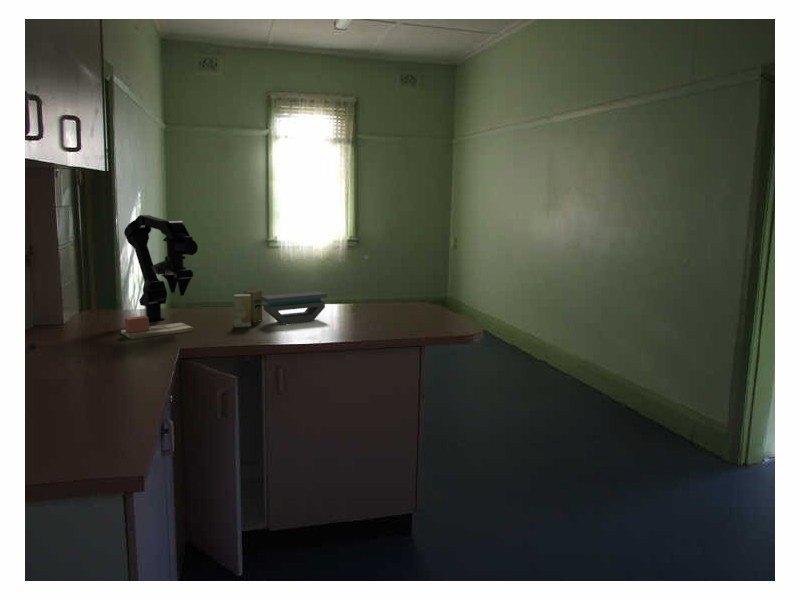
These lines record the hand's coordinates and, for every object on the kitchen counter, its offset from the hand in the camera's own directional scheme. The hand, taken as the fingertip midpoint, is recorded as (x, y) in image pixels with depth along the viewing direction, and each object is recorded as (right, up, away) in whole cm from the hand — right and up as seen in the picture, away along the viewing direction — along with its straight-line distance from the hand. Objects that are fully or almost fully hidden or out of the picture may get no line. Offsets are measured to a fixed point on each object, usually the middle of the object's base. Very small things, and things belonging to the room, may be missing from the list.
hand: (177, 294), depth 235 cm
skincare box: (+25, -13, 0) cm, 28 cm away
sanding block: (-8, -14, -16) cm, 22 cm away
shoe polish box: (+27, -11, +11) cm, 31 cm away
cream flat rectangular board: (-3, -14, -11) cm, 18 cm away
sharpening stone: (+44, -11, +9) cm, 46 cm away
